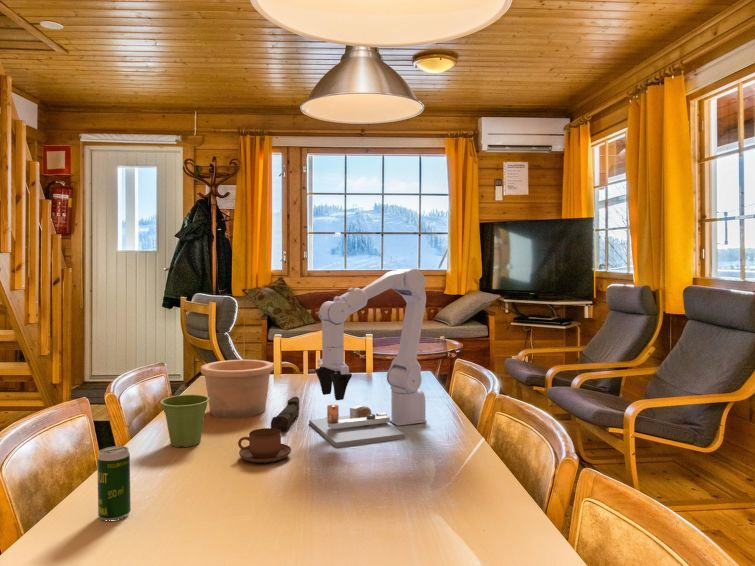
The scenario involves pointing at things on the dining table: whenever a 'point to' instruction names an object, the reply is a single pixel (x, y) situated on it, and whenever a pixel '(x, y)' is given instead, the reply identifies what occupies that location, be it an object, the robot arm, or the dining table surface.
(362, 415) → the brown sphere
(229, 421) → the dining table surface
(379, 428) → the flat white platform
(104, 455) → the beer can
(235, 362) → the pottery
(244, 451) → the cup and saucer
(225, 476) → the dining table surface
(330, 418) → the lever
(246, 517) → the dining table surface
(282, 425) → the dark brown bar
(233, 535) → the dining table surface
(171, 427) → the plant pot
